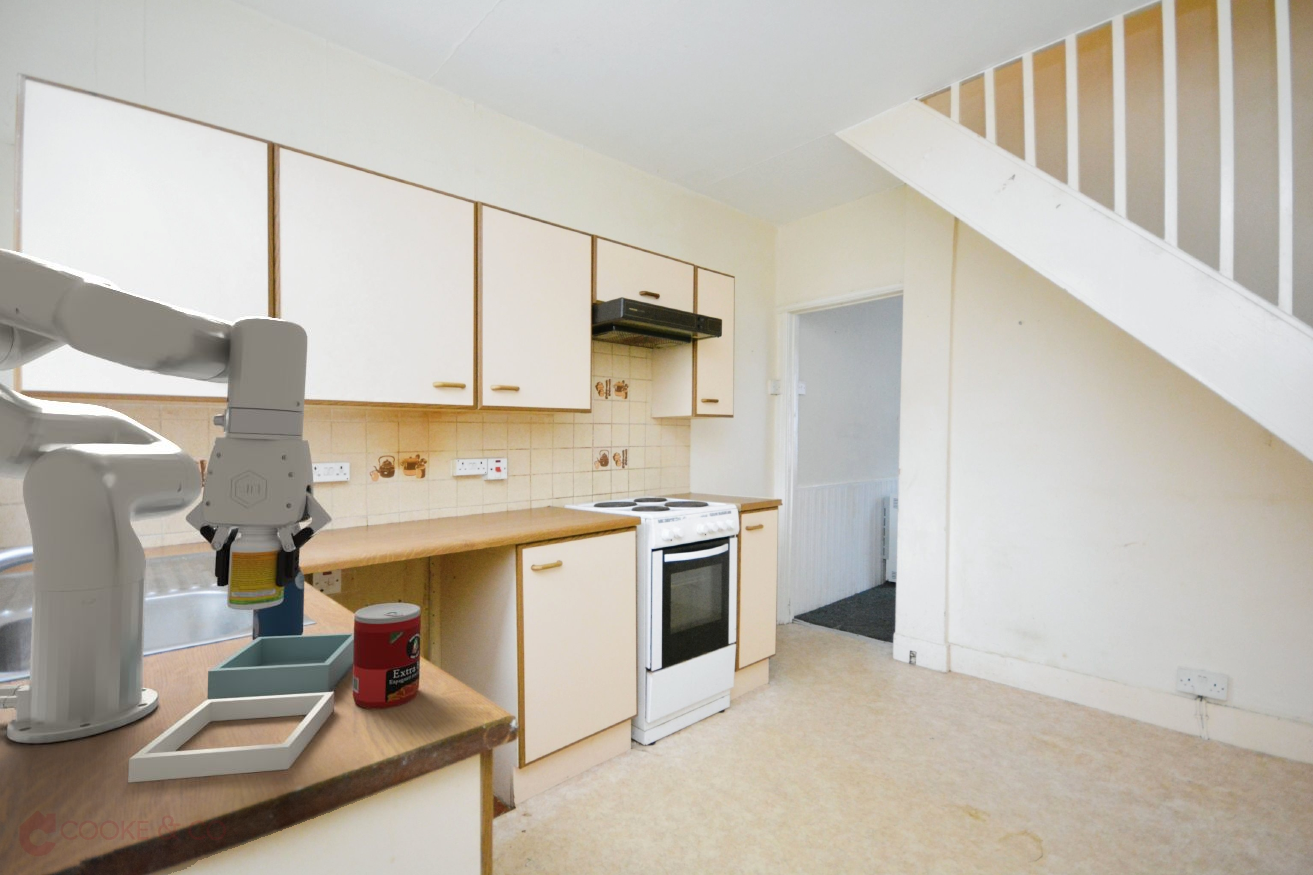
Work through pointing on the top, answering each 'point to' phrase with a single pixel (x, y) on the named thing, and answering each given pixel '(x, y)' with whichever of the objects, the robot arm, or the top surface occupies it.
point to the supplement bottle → (254, 569)
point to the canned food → (386, 654)
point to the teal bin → (283, 666)
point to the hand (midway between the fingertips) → (256, 582)
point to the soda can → (282, 613)
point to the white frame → (168, 764)
